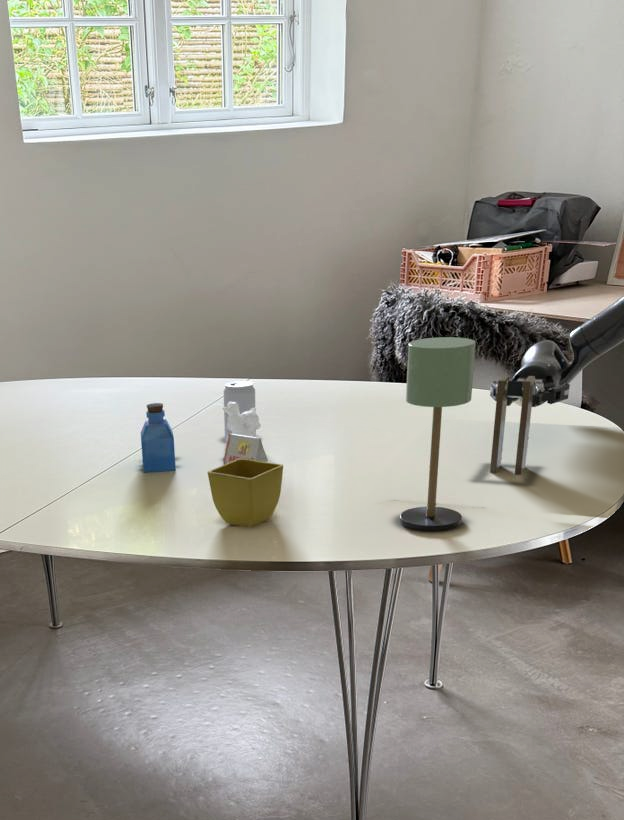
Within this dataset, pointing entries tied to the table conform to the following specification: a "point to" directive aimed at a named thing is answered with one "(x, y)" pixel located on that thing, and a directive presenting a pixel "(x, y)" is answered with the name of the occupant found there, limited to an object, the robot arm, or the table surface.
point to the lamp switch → (515, 391)
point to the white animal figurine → (241, 420)
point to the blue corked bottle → (157, 441)
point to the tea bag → (244, 449)
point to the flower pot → (246, 491)
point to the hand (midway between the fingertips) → (520, 400)
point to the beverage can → (239, 399)
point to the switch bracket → (500, 423)
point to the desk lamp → (437, 412)
